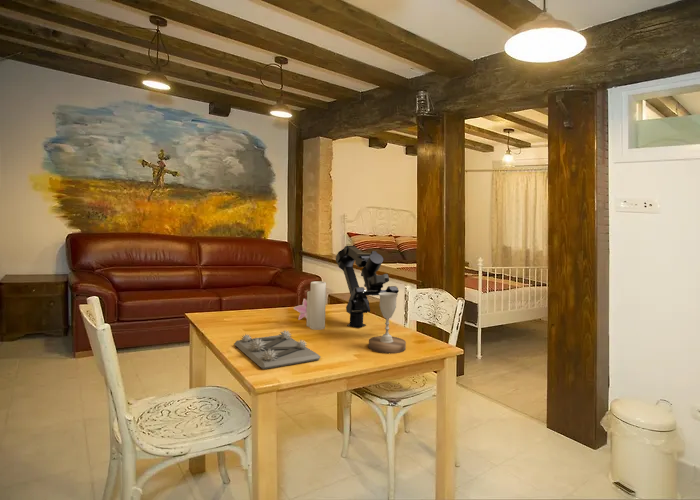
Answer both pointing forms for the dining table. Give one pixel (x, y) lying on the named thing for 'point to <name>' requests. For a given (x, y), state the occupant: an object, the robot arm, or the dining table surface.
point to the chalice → (387, 312)
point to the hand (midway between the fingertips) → (380, 311)
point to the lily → (302, 309)
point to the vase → (316, 305)
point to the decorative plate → (276, 350)
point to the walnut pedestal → (387, 345)
